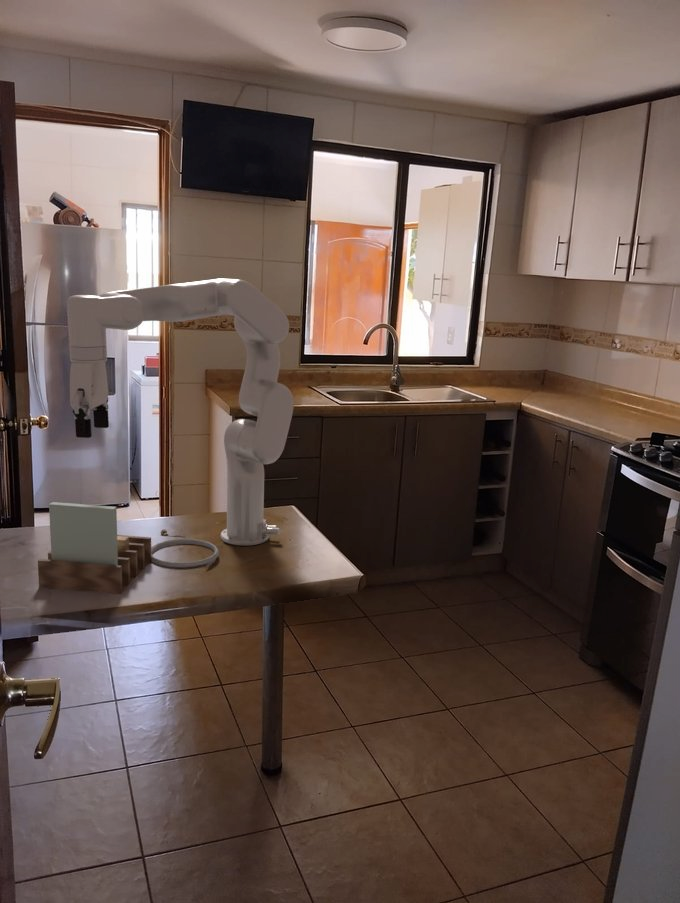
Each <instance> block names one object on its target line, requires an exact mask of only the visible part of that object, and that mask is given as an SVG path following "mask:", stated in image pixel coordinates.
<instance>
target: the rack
mask: <svg viewBox="0 0 680 903" xmlns="http://www.w3.org/2000/svg"><path fill="white" fill-rule="evenodd" d="M117 536H122V537H129V550H121V549H118V565H108V564H96V563H84V562H72V561H60V560H52V557H51V550H50V551H48V552H47V558H39V559H38V560H37V571H38V572H37V573H38V575H37V576H38V588H44V589H45V588H46V589H56V590H69V591H77V592H78V591H80V592H90V593H101V594H113V595H122V594H123V593H124V592H125V590H126V589H127V588H128V587H129V586H130V585H131V584H132V583H133V582H134V581H135V580H136V579H137V578H138V576H140V575H141V573H142V572H143V571H144V570H145V569H146V568H147V567H148V566H149V565H150V564H151V563H153V562H152V561H151V547H152V537H149V536H136V535H127V534H126V535H123V534H117Z"/></svg>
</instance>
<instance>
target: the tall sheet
mask: <svg viewBox="0 0 680 903" xmlns="http://www.w3.org/2000/svg"><path fill="white" fill-rule="evenodd" d="M48 509H49V510H48V511H49V531H50V534H49V535H50V551H51V557H52V560H60V561H72V562H84V563H96V564H108V565H118V549H117V535H118V520H117V519H118V516H117V511H118V510H117V506H110V505H97V504H95V505H94V504H84V503H83V504H82V503H72V502H71V503H70V502H56V501H52V502H50V503H49V504H48Z"/></svg>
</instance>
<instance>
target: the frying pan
mask: <svg viewBox="0 0 680 903" xmlns="http://www.w3.org/2000/svg"><path fill="white" fill-rule="evenodd" d="M160 535H163V537H172V538H177V539H170V540H165V541H161V542H158V543H156V544H155V545H153V546H151V561H152V562H151V563H153V564H156V565H158V566H161V567H166V568H171V569H172V568H174V569H175V568H176V569H186V568H195V567H200V566H204V565H205V566H204V568H207V566H208V567H209V565H210V566H211V565H212V563H213V564H214V563H215V562H216V560H217V558H218V556H219V554H220V552H219V549H218V547H217V546H216V545H215V544H213V543H212V542H209V541H207V540H205V539H204V540H203V539H198V538H197V539H196V538H186V536H185V535H181V534H174V535H169V534H168V530H167V529H165V528H162V529H161V530H160ZM174 545H198V546H203V547H205V548H208V549H210V550H211V551H213V553H214V554H212V555H211V556H208V557H207V558H204V559H200V560H196V561H194V560H193V561H185V562H181V561H180V562H175V561H169V560H167V561H166V560H161V559H159V558H156V557H155V556H154V555H153V554H154V553H155V552H156V551H157V550H159V549H162V548H165V547H169V546H174Z"/></svg>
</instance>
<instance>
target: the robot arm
mask: <svg viewBox="0 0 680 903" xmlns="http://www.w3.org/2000/svg"><path fill="white" fill-rule="evenodd" d="M66 311H67V314H66V316H67V327H68V328H67V329H68V330H67V331H68V344H69V360H70V362H71V363H70V373H69V400H70V401H69V402H70V403H69V404H70V407H71V408H72V413H73V419H74V423H75V424H74V425H75V436H76V438H81V439H83V438H85V439H89V438H92V436H93V435H92V422H91V420H92V419H91V418H90V414H91V410H92V411H93V413H92V414H93V427H94V428H97V429H99V428H100V429H108V428H110V421H109V404H108V402H109V400H110V398H109V391H110V390H109V388H108V387H109V385H108V375H107V368H106V367H107V366H106V362H107V361H108V350H107V349H108V348H107V331H106V330H107V329H110V330H111V329H112V330H121V331H130V330H134V329H136V328H138V327H139V326H140V325H142V324H143V322H153V321H154V322H166V323H169V322H170V323H180V322H188V321H193V320H198V319H199V320H200V319H205V318H212V317H218V316H234V317H233V325H234V330H235V331H236V333H237V334H238V336H239V337H240V338H241V340H242V341H243V344H244V347H245V349H246V364H245V368H244V373H243V377H242V381H241V385H240V389H239V394H238V405H239V407H240V409H241V410H242V411H243V412H244V413H246V414H248V415H251V416H255V417H257V419H256V421H255V420H252V419H249V418H248V419H245V418H238V419H236V420H234V421H232V422H231V423H229V425H228V426H227V427H226V429H225V432H224V436H223V444H224V450H225V456H226V457H225V458H226V465H227V466H226V468H227V469H226V470H227V472H226V473H227V474H226V475H227V476H226V528H225V529H223V530H222V531H221V532H220V539H221V540H222V541H223V542H225V543H227V544H229V545H233V546H254V545H255V546H256V545H259V544H262V543H265V542H267V541H268V539H269V538H270V537H269V536H270V535H272V536H279V535H280V528H279V527H277V525H268V523H267V518H266V519H264V509H265V508H264V507H265V502H264V500H265V468H264V465H269V464H274V463H275V462H276V461H277V460H278V459H279V458H280V456H281V455H282V453H283V452H284V450H285V447H286V443H287V437H288V434H289V430H290V426H291V421H292V418H293V413H294V406H295V405H294V403H295V402H294V397H293V394H292V392H291V391H290V389H289V387H288V386H286V385H284V384H283V383H280V382H278V378H279V373H280V368H281V352H280V347H279V345H278V344H279V343H281V342H283V341H284V340H285V339H286V338H287V337H288V334H289V331H290V322H289V319H288V317H287V315H286V314H285V312H284V311H283V310H282V309H281V308H280V307H279V306H278V305H276V304H275V302H273V301H272V300H271V299H269V297H267V296H266V295H265V294H264V293H262V291H261V290H259V289H258V288H257V287H256V286H254V285H253V284H251V283H250V282H249V281H246V280H243V279H239V278H238V279H237V278H214V279H213V278H212V279H205V280H199V281H191V282H189V281H188V282H181V283H173V284H165V285H164V284H163V285H159V286H150V287H140V288H135V289H134V288H133V289H124V290H123V289H122V290H115V291H110V292H109V291H108V292H103V293H102V294H99V295H95V294H93V295H91V294H76V295H70V296H69V297H68V298H67V299H66Z"/></svg>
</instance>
